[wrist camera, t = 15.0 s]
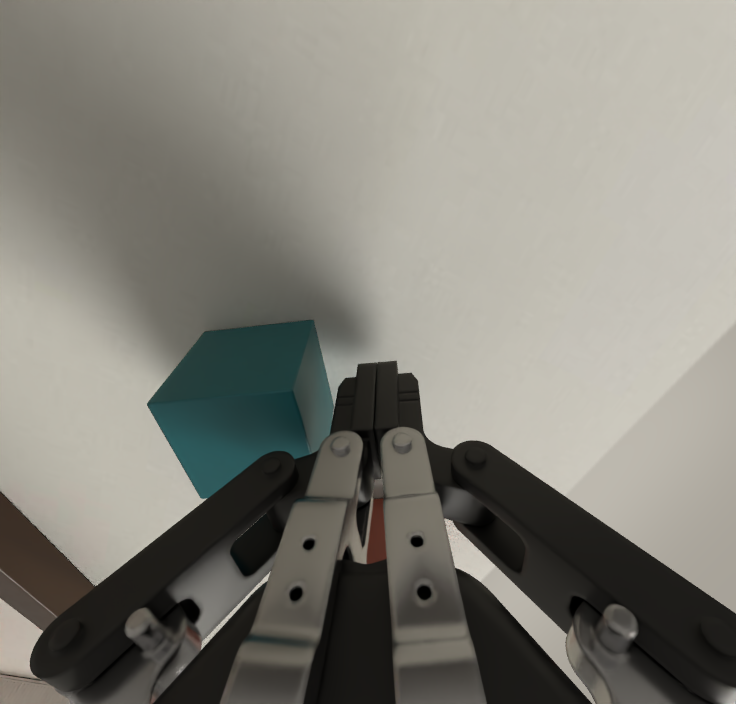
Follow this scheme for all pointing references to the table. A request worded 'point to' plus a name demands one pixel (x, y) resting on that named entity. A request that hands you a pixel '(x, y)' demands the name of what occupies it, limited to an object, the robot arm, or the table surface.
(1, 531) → the rail
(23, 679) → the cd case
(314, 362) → the block teal
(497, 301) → the table surface
